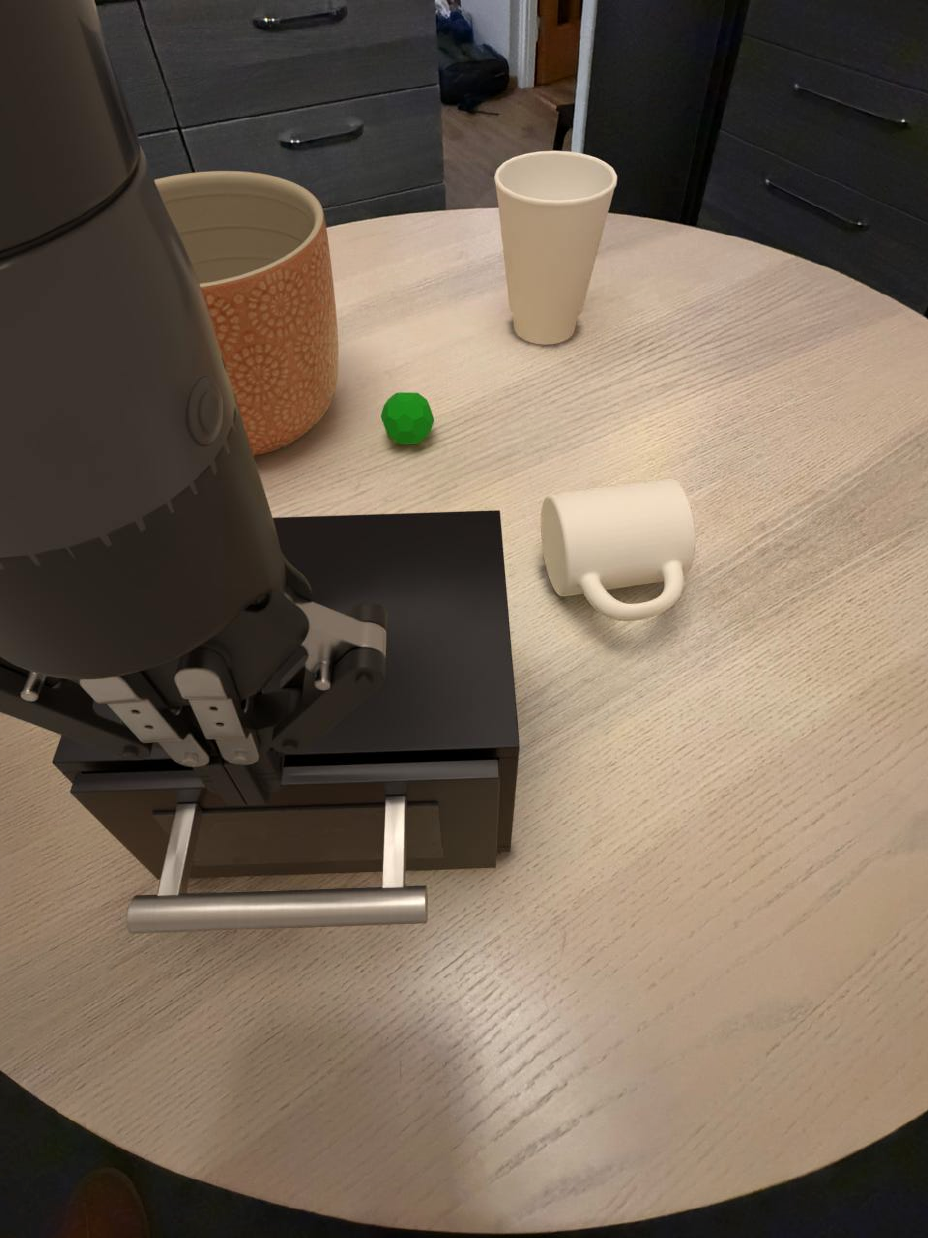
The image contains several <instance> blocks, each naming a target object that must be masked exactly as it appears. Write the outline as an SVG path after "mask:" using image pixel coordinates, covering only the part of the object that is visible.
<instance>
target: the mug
mask: <svg viewBox="0 0 928 1238" xmlns="http://www.w3.org/2000/svg"><path fill="white" fill-rule="evenodd" d="M695 524H696V523H695V518H694V513H693V509H692V505H691V502H690V500H689V497H688V495H687V493H686V491H685V489H684V487H682V485H681V484H680V483H679V482H678V481H677V480H675V479H674V478H670V477H667V478H659V479H652V480H645V481H638V482H637V481H636V482H629V483H624V484H616V485H608V486H602V487H593V488H586V489H579V490H571V491H563V492H556V493H549V494H547V495H546V496H545V498H544V499H543V501H542V506H541V511H540V535H541V543H542V544H541V545H542V552H543V558H544V564H545V567H546V572H547V576H548V578H549V581H550V584H551V587H552V588H553V590H554V592H555V593H556V594H557V595H558V596H560V597H568V596H575V595H576V596H577V595H581V594H583V595H584V597H585V599H586V601H588V602H589V604H590V605H591V606H592V607H593V608H594V609H595V610H596V611H597V612H598V613H600V614H602V615H603V616H605V617H607V618H610V619H611V620H612V619H613V620H616V621H622V622H623V621H624V622H635V621H641V620H646V619H649V618H653V617H655V616H658V615H660V614H662V613H664V612H666V611H667V610H669V609H670V608H671V607H672V606H674V605H675V604H676V603H677V602H678V600H679V599H680V597H681V595H682V593H683V590H684V586H685V577H686V576H687V575H688V573H689V572H690V571H691V568H692V566H693V563H694V559H695V556H696V555H695V554H696V545H697V543H696V542H697V541H696V539H697V538H696V537H697V535H696V525H695ZM662 582H664V584H663V585H664V586H663V591H662V593H660V595H659V596H657V597H655V598H653V599H652V600H648V601H644V602H638V603H627V602H626V603H625V602H622V601H620V600H618V599H616V598H615V597H614V596H612V595H611V593H609V592H608V590H615V589H621V588H629V587H635V586H636V587H637V586H642V585H647V584H648V585H649V584H656V583H662Z"/></svg>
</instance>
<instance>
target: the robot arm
mask: <svg viewBox="0 0 928 1238" xmlns="http://www.w3.org/2000/svg"><path fill="white" fill-rule="evenodd" d="M128 103H129V102H128V100H127V97H126V93H125V91H124V88H123V84H122V82H121V78H120V76H119V72H118V69H117V66H116V63H115V60H114V56H113V54H112V51H111V48H110V45H109V41H108V39H107V35H106V32H105V30H104V26H103V23H102V20H101V17H100V14H99V11H98V8H97V5H96V2H95V0H0V713H1V714H4V715H6V716H10V717H12V718H15V719H17V720H20V721H23V722H25V723H29V724H31V725H34V726H36V727H39V728H41V729H44V730H46V731H50V732H52V733H55V734H57V735H59V736H61V735H63V736H65V737H68V738H71V739H73V740H76V741H79V742H81V743H84V744H87V745H89V746H92V747H95V748H97V749H100V750H102V751H105V752H108V753H110V754H113V755H116V756H118V757H121V758H124V759H129V760H143V759H146V758H148V757H149V756H150V754H151V750H152V748H155V749H163V750H165V751H166V752H167V753H168V754H169V756H170V757H171V758H172V759H173V760H174V761H175V762H177V763H179V764H181V765H184V766H190V767H192V768H193V769H194V771H195V772H196V774H197V775H198V776H199V778H200V780H201V781H202V783H203V784H204V786H205V787H206V788H207V789H208V790H210V791H212V792H213V793H215V794H218V793H220V794H221V795H222V797H223V798H224V800H225V801H226V803H227V804H228V805H247V804H248V805H249V804H267V803H268V801H269V797H270V792H273V791H279V790H280V787H281V783H282V776H283V768H284V760H285V753H286V754H298V753H302V752H304V751H306V750H307V749H308V748H309V747H311V746H312V745H313V744H314V743H315V742H316V741H318V740H319V739H320V738H321V737H322V736H323V735H325V734H326V733H327V732H328V731H329V730H331V729H332V728H333V727H334V726H335V725H336V724H338V723H339V722H340V721H341V720H342V719H343V718H345V717H346V716H347V715H348V714H349V713H351V712H352V711H353V710H354V709H355V708H356V707H358V706H359V705H360V704H361V703H362V702H363V701H365V700H366V699H367V698H368V697H369V696H371V695H372V694H373V693H374V692H375V691H376V690H378V689H379V688H380V687H381V686H382V685H383V684H384V682H385V665H386V641H387V617H388V615H387V611H386V610H385V609H384V608H383V607H382V606H380V605H378V604H374V603H360V604H357V605H355V606H353V607H352V608H351V609H350V610H349V611H348V612H347V613H346V614H345V615H344V614H342V613H339V612H337V611H334V610H332V609H329V608H327V607H324V606H322V605H319V604H317V603H314V602H313V593H312V589H311V586H310V584H309V582H308V581H307V579H306V578H305V577H304V575H303V574H302V573H300V572H299V571H298V570H297V569H296V568H294V567H293V566H292V565H291V564H290V563H289V562H288V561H287V559H286V558H285V557H284V555H283V553H282V551H281V548H280V544H279V540H278V536H277V532H276V528H275V524H274V521H273V518H274V517H273V514H272V511H271V508H270V505H269V504H270V503H269V501H268V499H267V495H266V492H265V488H264V485H263V481H262V478H261V476H260V473H259V469H258V466H257V463H256V460H255V456H253V453H252V450H251V447H250V443H249V440H248V437H247V434H246V430H245V427H244V424H243V421H242V417H241V414H240V411H239V408H238V405H237V401H236V398H235V395H234V392H233V388H232V385H231V382H230V379H229V375H228V372H227V369H226V366H225V363H224V359H223V356H222V353H221V350H220V347H219V343H218V340H217V337H216V334H215V330H214V327H213V324H212V321H211V318H210V314H209V311H208V308H207V304H206V301H205V298H204V295H203V292H202V289H201V287H200V284H199V281H198V278H197V275H196V272H195V270H194V268H193V265H192V263H191V261H190V258H189V256H188V254H187V251H186V249H185V247H184V245H183V242H182V240H181V238H180V236H179V234H178V232H177V230H176V228H175V226H174V224H173V222H172V219H171V217H170V215H169V213H168V211H167V209H166V207H165V204H164V202H163V200H162V197H161V195H160V193H159V191H158V188H157V186H156V184H155V181H154V180H155V179H154V176H153V173H152V170H151V167H150V165H149V163H148V160H147V157H146V154H145V152H144V150H143V148H142V146H141V144H140V139H139V138H140V137H139V134H138V131H137V128H136V124H135V122H134V118H133V116H132V113H131V109H130V106H129V104H128ZM300 645H301V646H303V647H304V648H305V649H306V655H305V656H304V657H303V658H302V659H301V660H300V661H299V662H298V663H297V664H296V665H295V666H294V667H293V668H292V669H291V670H290V671H289V672H288V673H287V674H286V675H285V676H284V677H283V678H282V679H281V681H280V686H279V690H276V691H272V692H268V693H267V691H266V687H265V686H266V685H267V684H268V682H269V681H270V680H271V679H272V678H273V677H274V675H275V674H276V673H277V672H278V671H279V670H280V668H281V667H282V666H283V665H284V664H285V663H286V661H287V660H288V659H289V658H290V657H291V656H292V655H293V653H294V652H295V651H296V650H297V649H298V648H299V646H300ZM94 700H95V702H97V703H98V704H108V706H109V707H110V708H111V709H112V710H113V711H114V712H115V713H116V714H117V715H118V717H119V718H120V719H121V720H120V723H117V722H115V721H112V720H110V719H107V718H105V717H102V716H100V715H98V714H97V713H96V712H95V711H94V709H93V701H94Z"/></svg>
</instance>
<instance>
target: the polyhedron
mask: <svg viewBox="0 0 928 1238" xmlns="http://www.w3.org/2000/svg"><path fill="white" fill-rule="evenodd" d="M380 418H381V421H382V425H383V427H384V429H385V432H386V435H387V437H388V439H390V440H391V441H392V442H394V443H395V444H397V445H419V444H421V442H423V441H424V440H426V439H427V438H428V437H429V435H430V433H431V432H432V430H433V425H434V423H435V418H434V415H433V411H432V409H431V405H430V403H429V401H428V399H427V398H425V396H423V395H422V394H420V393H419V392H407V391H406V392H401V391H400V392H395V393H394V394H392V396H390V397H389V398H388V399H387V400H386V401H385V403H384V405H383V407H382V410H381V414H380Z"/></svg>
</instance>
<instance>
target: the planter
mask: <svg viewBox="0 0 928 1238" xmlns="http://www.w3.org/2000/svg"><path fill="white" fill-rule="evenodd" d="M154 181H155V184H156V186H157V188H158V191H159V193H160V195H161V197H162V200H163V202H164V204H165V207H166V209H167V211H168V213H169V215H170V217H171V219H172V222H173V224H174V226H175V228H176V230H177V232H178V234H179V236H180V238H181V240H182V242H183V245H184V247H185V249H186V251H187V254H188V256H189V258H190V261H191V263H192V265H193V268H194V270H195V272H196V275H197V278H198V281H199V284H200V287H201V289H202V292H203V295H204V298H205V301H206V304H207V308H208V311H209V314H210V318H211V321H212V324H213V327H214V330H215V334H216V337H217V340H218V343H219V347H220V350H221V353H222V356H223V359H224V363H225V366H226V369H227V372H228V375H229V379H230V382H231V385H232V388H233V392H234V395H235V398H236V401H237V405H238V408H239V411H240V414H241V417H242V421H243V424H244V427H245V430H246V434H247V437H248V440H249V443H250V447H251V450H252V453H253V456H254V457H255V456H260V455H265V454H269V453H271V452H274V451H277V450H279V449H281V448H284V447H286V446H288V445H290V444H292V443H294V442H295V441H297V440H299V439H300V438H301V437H303V436H304V435H305V434H307V433H308V432H309V431H310V430H311V429H313V427H314V426H316V425H317V423H318V422H319V421H320V420H321V418H322V417H323V416H324V414H325V413H326V412H327V410H328V408H329V406H330V404H331V402H332V400H333V399H334V395H335V391H336V389H337V383H338V377H339V333H338V331H339V330H338V319H337V317H338V316H337V306H336V295H335V286H334V277H333V268H332V257H331V251H330V242H329V237H328V228H327V223H326V218H325V212H324V209H323V206H322V204H321V202H320V201H319V200H318V198H317V197H316V196H315V195H314V194H313V193H312V192H310V191H309V190H308V189H306V188H305V187H303V186H302V185H299V184H298V183H295V182H294V181H291V180H288V179H284V178H282V177H279V176H274V175H270V174H265V173H259V172H252V171H239V170H212V171H211V170H210V171H197V172H189V173H182V174H175V175H170V176H164V177H161V178H160V177H159V178H155V179H154Z"/></svg>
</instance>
